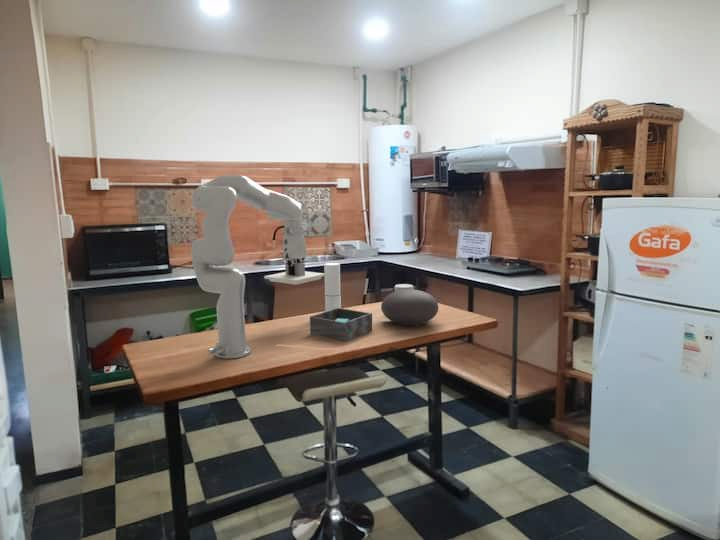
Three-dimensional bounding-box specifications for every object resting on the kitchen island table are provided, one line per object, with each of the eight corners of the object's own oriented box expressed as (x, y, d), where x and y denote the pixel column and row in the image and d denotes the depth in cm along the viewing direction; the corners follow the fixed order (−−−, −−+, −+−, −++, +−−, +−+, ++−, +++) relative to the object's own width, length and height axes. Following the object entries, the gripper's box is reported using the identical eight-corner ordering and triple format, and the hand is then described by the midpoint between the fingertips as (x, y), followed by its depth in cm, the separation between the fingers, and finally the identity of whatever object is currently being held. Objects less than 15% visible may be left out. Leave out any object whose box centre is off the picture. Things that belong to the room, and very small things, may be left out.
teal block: (345, 334, 197) (345, 322, 196) (333, 333, 198) (333, 321, 197) (349, 330, 202) (349, 319, 201) (337, 330, 203) (337, 318, 202)
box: (345, 343, 188) (345, 323, 186) (310, 335, 198) (309, 316, 197) (372, 332, 202) (372, 313, 201) (338, 325, 212) (337, 307, 211)
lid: (296, 285, 197) (295, 268, 196) (264, 281, 208) (263, 264, 207) (326, 278, 212) (325, 262, 211) (294, 274, 223) (294, 259, 222)
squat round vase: (405, 313, 232) (405, 282, 229) (449, 322, 214) (450, 289, 212) (369, 324, 214) (369, 290, 212) (414, 335, 197) (414, 298, 195)
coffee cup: (414, 311, 234) (414, 287, 232) (395, 312, 234) (395, 287, 232) (412, 307, 244) (412, 283, 242) (393, 307, 243) (393, 284, 242)
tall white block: (342, 315, 230) (340, 262, 226) (339, 319, 223) (338, 265, 219) (327, 315, 231) (325, 262, 227) (324, 319, 224) (322, 265, 220)
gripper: (286, 233, 198) (287, 278, 201) (313, 230, 211) (314, 272, 214) (273, 232, 202) (275, 276, 205) (300, 229, 216) (302, 270, 218)
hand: (295, 273), depth 210 cm, fingers closed on lid, 3 cm apart
